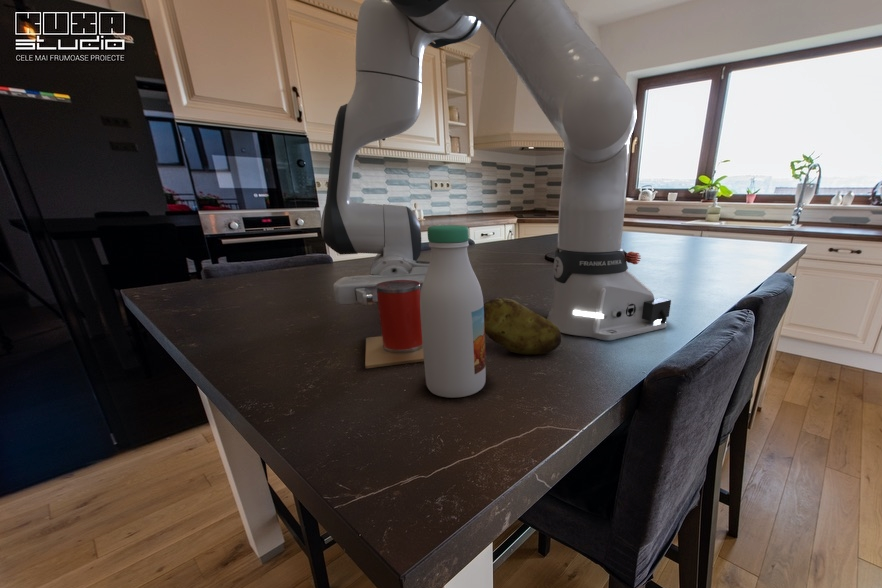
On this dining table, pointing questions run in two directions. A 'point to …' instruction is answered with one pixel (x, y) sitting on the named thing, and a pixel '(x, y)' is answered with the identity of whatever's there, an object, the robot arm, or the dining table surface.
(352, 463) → the dining table surface
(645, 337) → the dining table surface
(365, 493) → the dining table surface
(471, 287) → the milk bottle
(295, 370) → the dining table surface
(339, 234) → the robot arm
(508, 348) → the potato
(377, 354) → the cork mat
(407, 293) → the tomato tin
